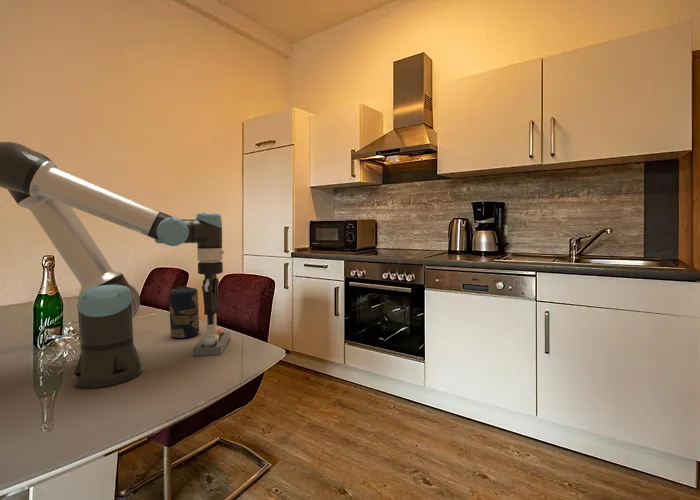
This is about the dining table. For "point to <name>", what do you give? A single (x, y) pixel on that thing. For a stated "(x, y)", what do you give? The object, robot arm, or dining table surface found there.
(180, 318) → the canister
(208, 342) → the slate button
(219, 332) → the terracotta button
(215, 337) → the cream button
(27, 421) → the dining table surface
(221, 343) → the grey tray
